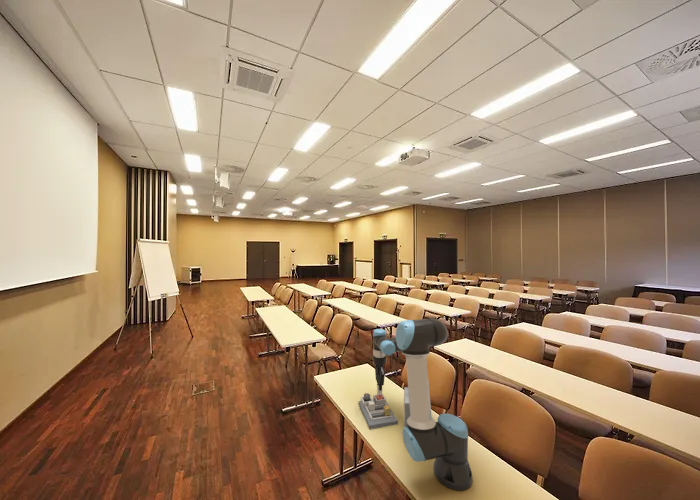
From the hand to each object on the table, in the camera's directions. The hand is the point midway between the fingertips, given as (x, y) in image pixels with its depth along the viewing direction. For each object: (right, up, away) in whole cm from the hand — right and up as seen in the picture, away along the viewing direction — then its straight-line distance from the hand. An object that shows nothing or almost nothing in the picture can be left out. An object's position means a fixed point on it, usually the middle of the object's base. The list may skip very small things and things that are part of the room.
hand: (379, 394), depth 158 cm
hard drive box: (+14, -7, -23) cm, 28 cm away
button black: (-8, -3, -2) cm, 8 cm away
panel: (-2, -7, -7) cm, 10 cm away
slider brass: (+3, -5, -11) cm, 13 cm away
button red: (0, -4, 0) cm, 4 cm away
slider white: (-5, -5, -7) cm, 10 cm away
